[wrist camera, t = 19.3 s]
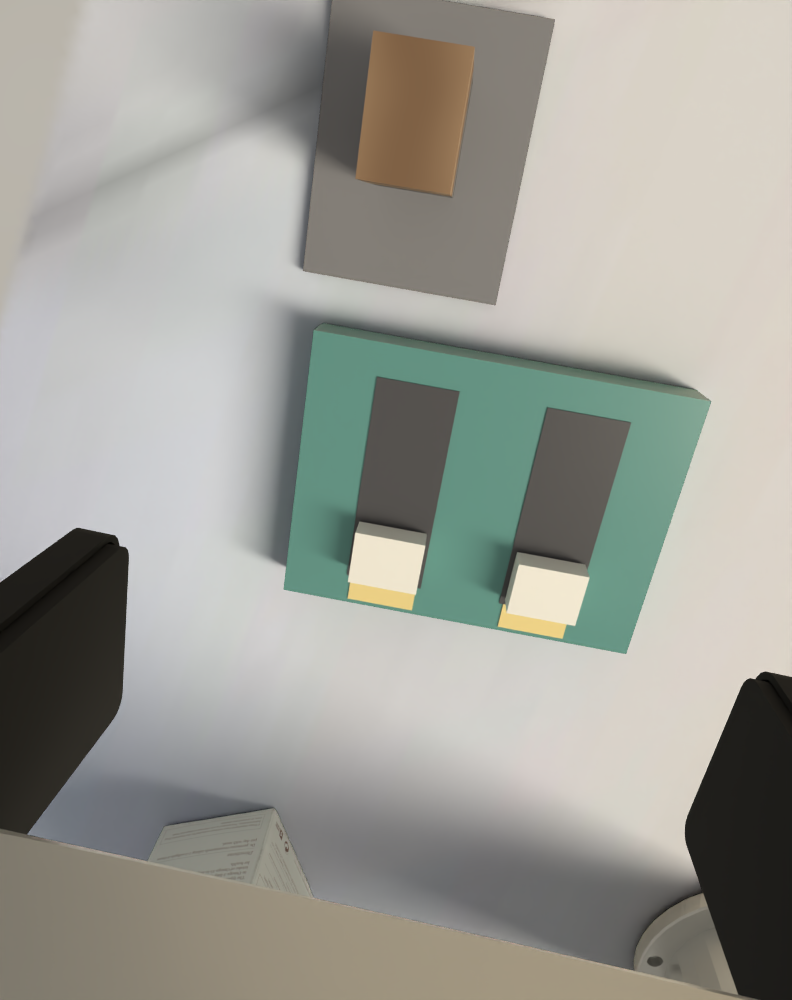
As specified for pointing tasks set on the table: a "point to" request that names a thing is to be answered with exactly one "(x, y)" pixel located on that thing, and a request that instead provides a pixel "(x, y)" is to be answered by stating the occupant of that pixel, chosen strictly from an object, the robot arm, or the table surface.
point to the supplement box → (235, 850)
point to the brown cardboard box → (415, 113)
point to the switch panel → (487, 477)
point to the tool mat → (482, 166)
